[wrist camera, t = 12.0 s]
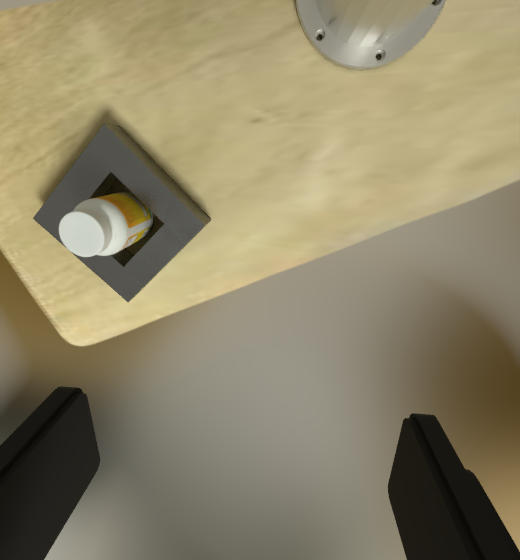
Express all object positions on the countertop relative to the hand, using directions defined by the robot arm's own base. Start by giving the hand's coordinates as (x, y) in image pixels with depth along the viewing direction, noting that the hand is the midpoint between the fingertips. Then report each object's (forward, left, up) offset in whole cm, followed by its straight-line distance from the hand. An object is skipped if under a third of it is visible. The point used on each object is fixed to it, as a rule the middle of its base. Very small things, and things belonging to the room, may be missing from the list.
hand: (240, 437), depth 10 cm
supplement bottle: (+11, -12, -28) cm, 33 cm away
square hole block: (+11, -12, -28) cm, 33 cm away
